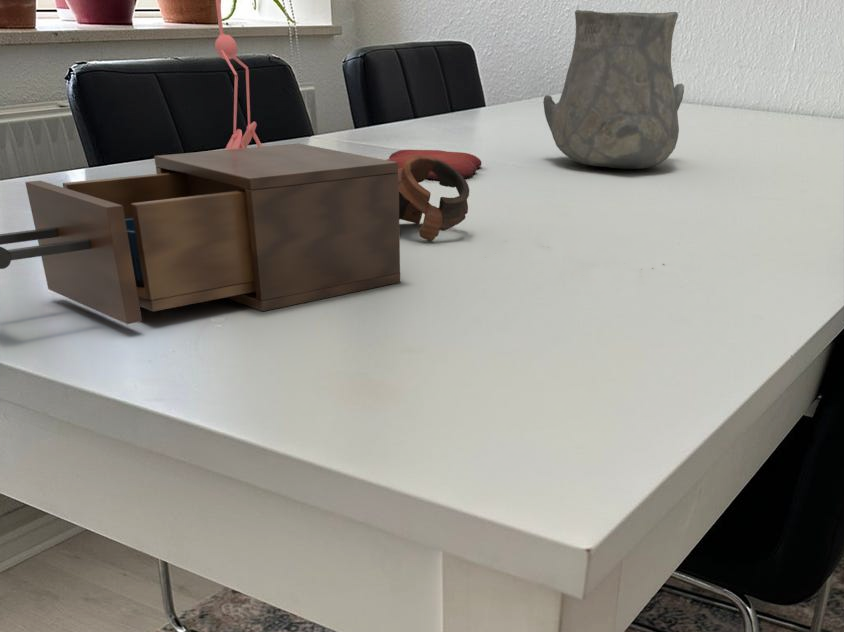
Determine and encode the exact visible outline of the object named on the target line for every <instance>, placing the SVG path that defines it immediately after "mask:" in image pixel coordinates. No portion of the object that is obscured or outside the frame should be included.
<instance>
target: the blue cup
mask: <svg viewBox="0 0 844 632" xmlns="http://www.w3.org/2000/svg"><path fill="white" fill-rule="evenodd" d="M125 222H126V228H127V234H128V240H129V246H130V252H131V258H132V264H133V270H134V276H135V282H136V285H137V286H144V283H143V276H142V270H141V264H140V258H139V252H138V246H137V239H136V233H135V227H134V221H133V218H126V219H125Z"/></svg>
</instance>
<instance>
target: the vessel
mask: <svg viewBox="0 0 844 632" xmlns="http://www.w3.org/2000/svg"><path fill="white" fill-rule="evenodd" d="M574 16H575V17H574V19H575V38H574V45H573V48H572V54H571V59H570V62H569V66H568V69H567V72H566V76H565V81H564V85H563V89H562V92H561V95H560V97H559V101H558V102H555V101H554V100H553V97H552V96H551V95H549V94H546V95H544V97H543V101H542V102H543V103H542V104H543V111H544V116H545V119H546V122H547V125H548V127H549V130H550V132H551V136H552V138H553V141H554V143H555V146H556V147H557V148H558V150H560V152H561V153H562V154H563V155H565V156H566V157H567V158H569V159H571V160H572V161H574V162H577V163H580V164H582V165H587V166H589V167H591V166H592V167H602V168H611V169H621V170H641V169H646V168H647V169H648V168H651V167H654V166H658V165H660V164H661V163H663V162H664V161H666V160H667V159H668V158H669V157H670V156H671V155H672V154H673V152H674V150H675V149H676V147H677V143H678V140H679V134H680V133H679V132H680V127H679V126H680V125H679V115H678V111H679V110H680V106H681V104H682V102H683V98H684V93H685V85H684V84H683V83H676V84H674V75H673V69H672V68H673V67H672V50H673V49H672V48H673V47H672V46H673V38H674V31H675V27H676V24H677V20H678V17H679V13H678V12H677V11H669V12H668V11H667V12H635V11H627V12H626V11H622V12H621V11H620V12H601V11H594V10H581V9H576V10H575V11H574Z"/></svg>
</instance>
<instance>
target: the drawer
mask: <svg viewBox="0 0 844 632" xmlns="http://www.w3.org/2000/svg"><path fill="white" fill-rule="evenodd" d="M24 183H25V188H26V193H27V197H28V201H29V206H30V211H31V215H32V221H33V224H34V229H29V230H21V231H14V232H7V233H5V232H4V233H0V245H1V246H0V270H5V269H7V268H8V267H9V266H10V265H11V263H12V261H18V260H25V259H31V258H38V257H39V258H40V257H41V262H42V267H43V271H44V275H45V279H46V280H45V281H46V284H47V289H48V290H49V291H51V292H54V293H56V294H58V295H60V296H63V297H65V298H67V299H69V300H72V301H73V302H76V303H78V304H80V305H83V306H85V307H88V308H89V309H92V310H95V311H96V312H99V313H101V314H104V315H106V316H108V317H109V318H112V319H115V320H117V321H119V322H121V323H124V324H126V325H129V324H136V323H140V322H142V321H143V318H142V311H141V308H144V309H146V310H148V311H151V312H159V311H163V310H168V309H173V308H178V307H179V308H180V307H184V306H189V305H192V304H199V303H205V302H209V301H214V300H219V299H226V298H225V297H230V296H235V295H240V294H245V293H251V292H256V291H255V281H254V271H253V261H252V251H251V241H250V230H249V220H248V210H247V200H246V189H245V188H241V187H237V186H233V185H229V184H225V183H221V182H217V181H213V180H208V179H204V178H200V177H196V176H192V175H188V174H184V173H180V172H169V173H159V174H157V173H149V174H141V175H140V174H138V175H131V176H130V175H129V176H120V177H109V178H100V179H99V178H98V179H90V180H88V179H87V180H79V181H69V182H62V186H60V185H57V184H53V183H50V182H46V181H43V180H32V181H30V180H29V181H25V182H24ZM126 218H133V221H134V227H135V233H136V239H137V246H138V252H139V258H140V264H141V270H142V276H143V283H144V286H137V285H136V282H135V276H134V270H133V264H132V258H131V252H130V246H129V240H128V234H127V228H126V222H125V219H126ZM32 241H37V243H38V245H32V246H26V247H25V246H24V247H18V248H11V249H7V248H5V247H2V245H9V244H16V243H17V244H18V243H23V242H25V243H26V242H32Z"/></svg>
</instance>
